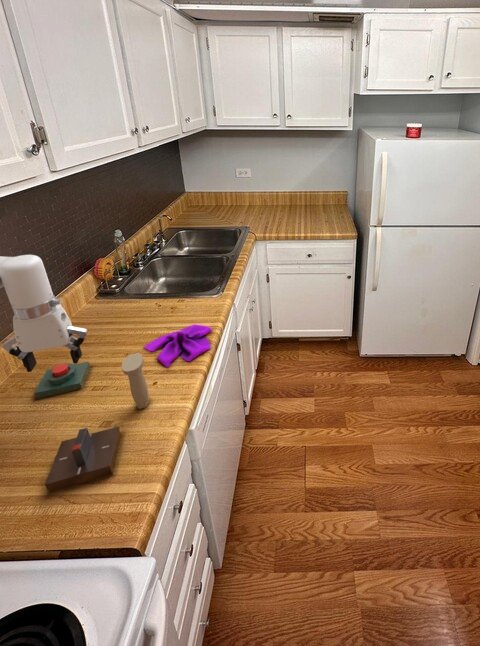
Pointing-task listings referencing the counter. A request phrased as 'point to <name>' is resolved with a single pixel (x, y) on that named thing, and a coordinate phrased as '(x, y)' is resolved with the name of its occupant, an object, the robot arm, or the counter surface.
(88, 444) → the knob
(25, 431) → the counter surface
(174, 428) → the counter surface
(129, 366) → the handle
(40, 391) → the button box
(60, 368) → the button
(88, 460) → the panel
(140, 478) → the counter surface
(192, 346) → the cloth
